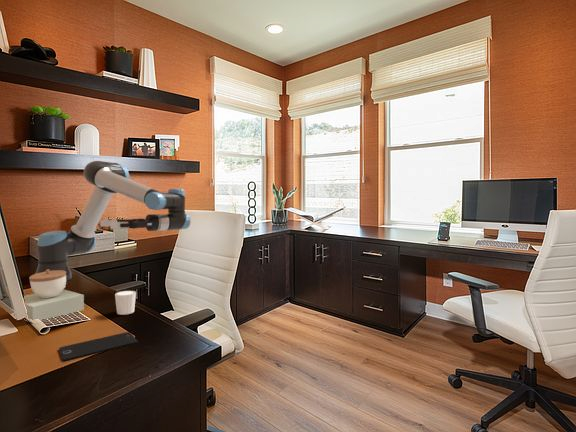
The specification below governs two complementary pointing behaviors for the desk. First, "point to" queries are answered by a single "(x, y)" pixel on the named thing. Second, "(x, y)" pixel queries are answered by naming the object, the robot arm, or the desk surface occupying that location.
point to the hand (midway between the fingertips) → (105, 224)
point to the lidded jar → (48, 283)
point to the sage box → (53, 305)
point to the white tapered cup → (125, 302)
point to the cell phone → (96, 346)
